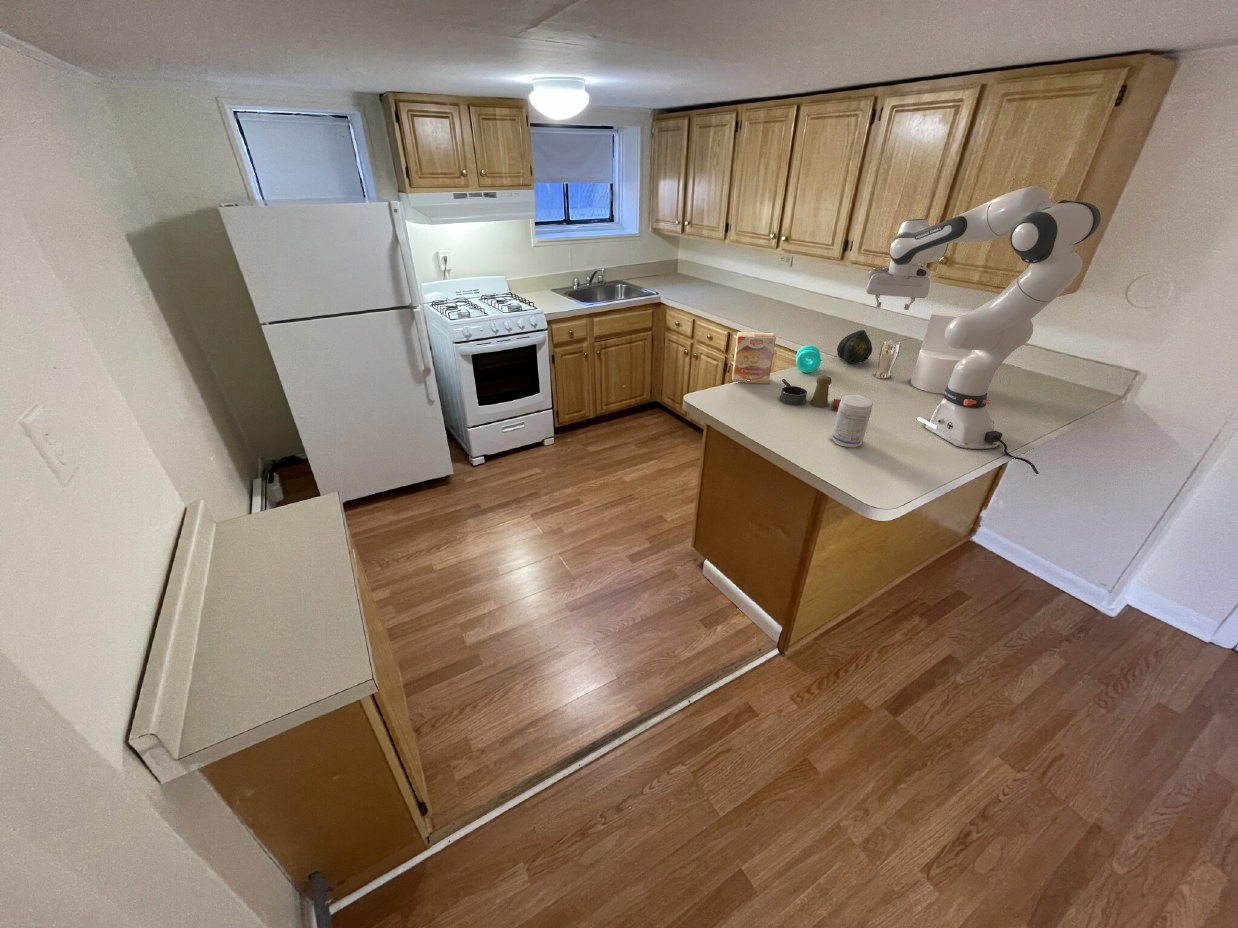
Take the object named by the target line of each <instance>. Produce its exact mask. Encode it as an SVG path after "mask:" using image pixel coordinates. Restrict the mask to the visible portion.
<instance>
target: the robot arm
mask: <svg viewBox="0 0 1238 928" xmlns="http://www.w3.org/2000/svg"><path fill="white" fill-rule="evenodd" d="M1101 218H1102V217H1101V212H1100V210H1099V208H1098V207H1097V206H1096V205H1094V204H1092V203H1090V202H1085V201H1075V200H1066V199H1062V200H1059V201H1058V202H1057V203H1054V202H1052V201H1051V199H1050V196H1049V193H1048V192H1047V190H1046V189H1045V188H1043V187H1041V186H1037V185H1031V186H1027V187H1023V188H1019V189H1016V190H1015V189H1014V190H1013V191H1010V192H1007V193H1005V194H1002V195H999V196H997V197H995V198H993V199H991V200H988V201H986V202H984V203H982V204H980V205H978V206H976V207H973V208H972V209H969V210H968V211H965V212H963V213H960V214H958V215H956V216H954V217H952V218H949V219H947V220H943V221H941V222H939V223H937V224H934V225H932V226H931V225H930V222H929V221H928V220H927V219H925V218H913V219H911V218H910V219H907V220H905V221H903V222H902V223H901V225H900V227H899V228H898V232H897V235H896V236H895V237H894V239H893V240H892V242H891V243H890V245H889V249H888V254H889V257H890V262H889V266H888V267H881V268H880V267H874V268H872V269H870V270H869V273H868V280H869V281H868V283H867V286H866V290H865V292H866V294H867V295H873V296H875V297H874V298H875V301H876V305H875V308H878V309H880V308H882V301H879V299H880V297H881V296H884V297H885V296H886V297H887V296H888V297H901V298H909V299H910V301H909V302H908V303H905V304H904V307H903V310H906V311H909V310H910V307H911V305H912V304H913V303H914V302H916V299H925V298H927V297H928V295H929V292H930V286H931V280H930V278H929V277H930V275H931V270H930V269H929V268H928V267H925V266H923V265H922V264H929V263H930V264H931V263H935V262H938V261H940V260H942V258H943V257H944V256H945V255H946V254H947V251H948V247H949V244H955V243H983V242H989V241H995V240H999V239H1003V238H1005V237H1007V236H1009V244H1010V247H1011V249H1012V250H1013V252H1014V253H1015V254H1016V255H1017V256H1018V257H1020V259H1021V261H1022V262H1023V263H1026V264H1029V265H1028V266H1027V267H1026V268H1025V270H1024V271H1023V272H1021V273H1020V274H1019V275H1018V276H1017V277H1016V278H1015V279H1014V280H1013V281H1011V283H1010V284H1009V285H1008V286H1007V287H1006V288H1004V289H1003V291H1001V292H1000V293H998V295H996V296H995V297H993V298H992V299H990V300H989V301H987V302H985V303H984V304H982V305H980V306H978V307H976V308H975V309H973V310H971V311H970V312H967V313H965V315H963V316H960V317H957V318H954V319H953V320H952V321H951V322H950V323H949V324H948V326H947V328H946V330H945V340H946V342H947V344H948V345H949V346H950V347H951V348H955V349H960V350H967V351H968V350H972V352H971V354H969V355H968V356H967V357H965V358H964V359H962V360H960V361H959V362H958V363H957V364H956V365H955V367H954V370H953V373H952V375H951V378H950V381H949V384H948V385H947V386H946V388H945V390H944V393H943V394H942V399H941V400H940V402H939V403H938V404H937V406H936V408H935V409H934V412H933V414H932V416H931V419H930V420H929V421H928V420H926V419H924V418H922V417H917V421H919V422H922V423H924V424H925V429H927V430H929V431H930V432H931V433H933V434H935V435H937V436H939V437H940V438H942V439H944V440H945V441H947V442H949V443H951V444H952V445H954V446H956V447H958V448H964V449H970V450H971V449H972V450H987V449H994V448H997V447H998V446H999V444H1002V446H1003V453H1004V454H1005V455H1006V456H1007V457H1009V458H1011V459H1015V460H1018V461H1022V462H1024V463H1026V464H1028V465H1029V466H1030V467H1031V468H1032V470H1033V472H1034V473H1035V475H1039V474H1040V472H1039V471H1038V469H1037V468H1036V466H1035V465H1034V464H1033V462H1032V461H1030V460H1028V459H1026V458H1023V457H1021V456H1020V457H1019V456H1015V455H1012V454H1011V453H1009V452H1008V445H1007V444H1006V442H1005V441H1003V439H1002V436H1003V435H1004V433H1003V432H1000V431H998V430H995V424H994V423H995V421H994V419H992V417H991V416H990V414H989V412H988V410H987V405H988V404H989V402H991V399H988V390H989V387H990V386H991V385H990V384H991V382H992V380H993V378H994V376H995V374H996V372H997V370H998V369H999V367H1000V366H1001V365H1002V364H1003V362H1004V361H1005V360H1006V359H1007V358H1008V357H1009V356H1011V354H1012V353H1013V352H1014V351H1017V349H1019V348H1020V347H1022V346H1024V345H1026V344H1027V343H1028V342H1029V341H1030V339H1031V338H1032V337H1033V333H1034V324H1033V321H1032V319H1033V318H1034V317H1036V316H1037V315H1038V314H1039V313H1041V311H1042V310H1044V309H1046V307H1047V306H1049V304H1051V303H1052V302H1054V300H1056V298H1057V297H1059V296H1060V295H1061V294H1062V293H1063V292H1064V291H1065V290H1066V289H1067V288H1068V287H1070V285H1071V284H1072V283H1073V281H1074V280H1075V279H1076V278H1077V277H1078V275H1079V274H1080V273H1081V271H1082V269H1083V259H1082V258H1081V256H1080V255H1079V253H1077V252H1076V251H1075V250H1074V246H1075V245H1077V244H1080V243H1082V242H1083V241H1086V240H1087V239H1088V238H1090V237H1091V236H1093V234H1094V233H1095V232H1096V231H1097V230H1098V228H1099V226H1100V224H1101ZM920 264H921V265H920Z"/></svg>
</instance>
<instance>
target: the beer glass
mask: <svg viewBox="0 0 1238 928" xmlns="http://www.w3.org/2000/svg"><path fill="white" fill-rule="evenodd" d="M901 345H902V342H900V341H898V340H894V339H885V340H883V342H882V345H881V348H880V351H879V357H878V367H877V370H876V372H875V373H874V376H875V378H878V379H881V380H889V379H891V377H892V370H893V367H894V365H895V363H896V361H897V359H898V357H899V354H900V350H901Z"/></svg>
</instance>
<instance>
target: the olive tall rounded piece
mask: <svg viewBox="0 0 1238 928" xmlns="http://www.w3.org/2000/svg"><path fill="white" fill-rule="evenodd" d="M831 384H832V378H831V376H829V375H826V374H821V375H819V376H817V378H816V387H815V390H814V392H813V395H812V397H811V400H810V404H811V405H812V406H814V407H816V408H817V407H818V408H825V407H827V406H828V401H829V388H830V387H829V386H830V385H831Z"/></svg>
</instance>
